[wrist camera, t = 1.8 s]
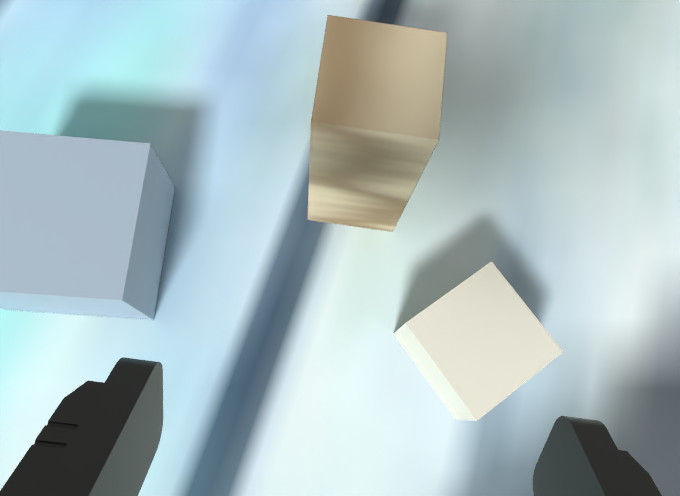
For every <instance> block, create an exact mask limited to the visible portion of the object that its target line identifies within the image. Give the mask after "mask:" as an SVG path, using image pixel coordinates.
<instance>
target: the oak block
mask: <svg viewBox="0 0 680 496" xmlns="http://www.w3.org/2000/svg"><path fill="white" fill-rule="evenodd" d="M446 42H447V33H444V32H438V31H431V30H424V29H418V28H411V27H405V26H398V25H391V24H385V23H378V22H371V21H365V20H358V19H351V18H345V17H338V16H331V15H328V17H327V23H326V29H325V36H324V42H323V48H322V55H321V61H320V68H319V74H318V80H317V87H316V93H315V99H314V106H313V112H312V119H311V138H310V167H309V197H308V220H313V221H320V222H327V223H334V224H342V225H349V226H356V227H363V228H370V229H378V230H385V231H392V232H393V230H394V228H395V226H396V224H397V222H398V220H399V218H400V216H401V214H402V212H403V210H404V208H405V206H406V204H407V202H408V200H409V198H410V196H411V194H412V192H413V190H414V188H415V187H416V185H417V183H418V181H419V179H420V177H421V175H422V173H423V171H424V169H425V167H426V165H427V163H428V161H429V159H430V157H431V155H432V153H433V151H434V149H435V147H436V145H437V143H438V141H439V134H440V121H441V108H442V94H443V81H444V68H445V55H446Z"/></svg>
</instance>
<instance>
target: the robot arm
mask: <svg viewBox="0 0 680 496" xmlns="http://www.w3.org/2000/svg"><path fill="white" fill-rule="evenodd" d="M162 426H163V369H162V364H161V363H160V362H154V361H146V360H138V359H131V358H121V359H120V360H119V361H118V362H117V363H116V365H115V367H114V368H113V370H112V372H111V373H110V375H109V376H108V378H107V380H106V381H105V383H102V382H94V381H87V382H85V383H84V384H83V385H81V386H80V387H79V388H77V389H76V390H75V391H73V392H72V393H70V394H69V395H68V396H66V397H65V398H64V399H63V400H62V402H61V403H60V405H59V406H58V408H57V409H56V410H55V412H54V413H53V415H52V416H51V418H50V419H49V421H48V425H47V426H45V427H44V428H43V429H42V431H41V432H40V434H39V435H38V437H37V438H36V440H35V444H34V445H32V446H31V447H30V448H29V450H28V451H27V453H26V454H25V456H24V457H23V459H22V460H21V462H20V463H19V465H18V466H17V467H16V469H15V470H14V472H13V473H12V475H11V476H10V478H9V479H8V481H7V482H6V484H5V485H4V486H3V488H2V489H1V491H0V496H138V494H139V491H140V489H141V487H142V484H143V482H144V479H145V477H146V475H147V472H148V470H149V467H150V465H151V463H152V460H153V458H154V455H155V453H156V450H157V448H158V444H159V441H160V437H161V432H162ZM533 492H534V496H662V495H661V494H660V492H659V490H658V489H657V487H656V485H655V483H654V482H653V480H652V478H651V476H650V475H649V473H648V472H647V471H646V470H645V469H644V468H643V467H642V466H641V465H640V464H639V463H638V462H637V461H636V460H635V459H634V458H633V457H632V456H631V455H630V454H629V453H628V452H627V451H622V450H618V449H617V447H616V445H615V443H614V441H613V440H612V438H611V436H610V434H609V432H608V430H607V428H606V427H605V425H604V424H603V423H602V422H600V421H597V420H589V419H582V418H574V417H566V416H561V417H559V418H558V419H557V420H556V422H555V423H554V426H553V428H552V430H551V432H550V435H549V437H548V439H547V441H546V444H545V446H544V448H543V451H542V453H541V455H540V457H539V460H538V462H537V464H536V467H535V470H534V475H533Z"/></svg>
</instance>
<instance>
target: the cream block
mask: <svg viewBox="0 0 680 496" xmlns="http://www.w3.org/2000/svg"><path fill="white" fill-rule="evenodd" d="M393 334H394V335H395V337H396V338H397V339H398V341H399V342H400V344H401V345H402V346H403V348H404V349H405V350H406V352H407V353H408V355H409V356H410V357H411V359H412V360H413V362H414V363H415V364H416V366H417V367H418V369H419V370H420V371H421V373H422V374H423V375H424V377H425V378H426V380H427V381H428V382H429V384H430V385H431V387H432V388H433V389H434V391H435V392H436V393H437V395H438V396H439V398H440V399H441V400H442V402H443V403H444V405H445V406H446V407H447V409H448V410H449V411H450V413H451V414H452V416H453V417H454V418H455V420H470V421H477V420H479V419H480V418H481V417H482V416H484V415H485V414H486V413H487V412H489V411H490V410H491V409H492V408H494V407H495V406H496V405H497V404H499V403H500V402H501V401H502V400H504V399H505V398H506V397H508V396H509V395H510V394H511V393H513V392H514V391H515V390H516V389H518V388H519V387H520V386H521V385H523V384H524V383H525V382H526V381H528V380H529V379H530V378H531V377H533V376H534V375H535V374H536V373H538V372H539V371H540V370H541V369H543V368H544V367H545V366H546V365H548V364H549V363H550V362H551V361H553V360H554V359H555V358H556V357H558V356H559V355H560V354H561V353H563V351H562V349H561V348H560V347H559V346H558V344H557V343H556V342H555V341H554V339H553V338H552V337H551V336H550V334H549V333H548V332H547V330H546V329H545V328H544V327H543V325H542V324H541V323H540V322H539V320H538V319H537V318H536V317H535V315H534V314H533V313H532V312H531V310H530V309H529V308H528V307H527V305H526V304H525V303H524V301H523V300H522V299H521V298H520V296H519V295H518V294H517V293H516V291H515V290H514V289H513V288H512V286H511V285H510V284H509V283H508V281H507V280H506V279H505V277H504V276H503V275H502V274H501V272H500V271H499V270H498V269H497V267H496V266H495V265H494V264H493V262H492V261H491V262H490V263H488V264H487V265H485V266H484V267H483V268H481V269H480V270H478V271H477V272H476V273H474V274H473V275H472V276H470V277H469V278H467V279H466V280H465V281H463V282H462V283H460V284H459V285H458V286H456V287H455V288H453V289H452V290H451V291H449V292H448V293H446V294H445V295H444V296H442V297H441V298H439V299H438V300H437V301H435V302H434V303H433V304H431V305H430V306H428V307H427V308H426V309H424V310H423V311H421V312H420V313H419V314H417V315H416V316H414V317H413V318H412V319H410V320H409V321H407V322H406V323H405V324H404V325H403V326H401V327H400V328H399V329H398V330H397V331H396V332H395V333H393Z"/></svg>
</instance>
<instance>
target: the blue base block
mask: <svg viewBox="0 0 680 496" xmlns="http://www.w3.org/2000/svg"><path fill="white" fill-rule="evenodd" d="M174 191H175V186H174V184H173V183H172V181H171V179H170V177H169V176H168V174H167V172H166V170H165V168H164V167H163V165H162V163H161V161H160V159H159V158H158V156H157V154H156V152H155V151H154V149H153V147H152V145H151V143H141V142H129V141H117V140H105V139H93V138H82V137H70V136H58V135H46V134H34V133H22V132H10V131H0V308H1V309H4V310H13V311H28V312H42V313H57V314H72V315H86V316H101V317H115V318H130V319H144V320H154V315H155V309H156V303H157V296H158V290H159V284H160V278H161V272H162V265H163V259H164V253H165V247H166V241H167V234H168V228H169V222H170V216H171V210H172V203H173V197H174Z"/></svg>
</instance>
